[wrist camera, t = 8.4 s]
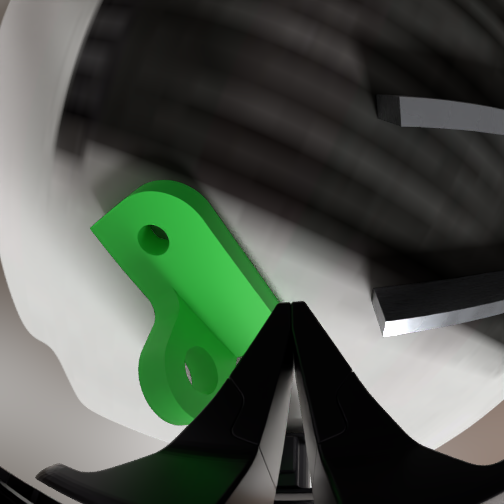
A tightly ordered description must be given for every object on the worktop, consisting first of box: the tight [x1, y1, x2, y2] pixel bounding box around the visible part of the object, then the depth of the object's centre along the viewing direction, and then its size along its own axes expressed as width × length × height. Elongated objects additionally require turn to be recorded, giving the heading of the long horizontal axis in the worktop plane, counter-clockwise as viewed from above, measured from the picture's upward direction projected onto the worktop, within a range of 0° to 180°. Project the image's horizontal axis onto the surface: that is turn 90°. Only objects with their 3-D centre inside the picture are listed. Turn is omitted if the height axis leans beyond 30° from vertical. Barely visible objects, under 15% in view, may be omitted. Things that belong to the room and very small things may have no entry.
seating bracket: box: [372, 95, 504, 337], centre depth 12 cm, size 12×15×3 cm
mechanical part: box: [90, 180, 279, 425], centre depth 14 cm, size 12×6×8 cm, turn 32°
